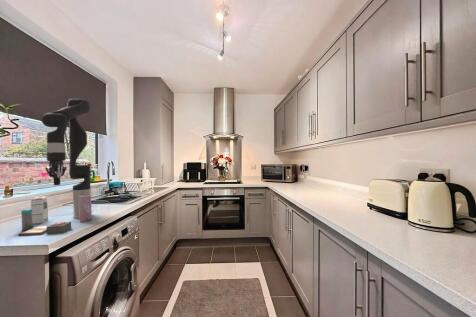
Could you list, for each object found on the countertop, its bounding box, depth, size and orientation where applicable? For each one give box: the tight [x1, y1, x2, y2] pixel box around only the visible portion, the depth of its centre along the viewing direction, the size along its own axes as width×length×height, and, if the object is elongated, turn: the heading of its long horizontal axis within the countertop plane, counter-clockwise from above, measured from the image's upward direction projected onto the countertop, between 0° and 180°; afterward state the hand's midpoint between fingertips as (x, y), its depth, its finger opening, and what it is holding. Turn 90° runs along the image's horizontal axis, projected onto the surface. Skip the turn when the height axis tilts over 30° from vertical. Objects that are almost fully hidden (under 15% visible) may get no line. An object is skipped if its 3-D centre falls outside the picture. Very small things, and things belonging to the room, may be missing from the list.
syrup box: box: [30, 196, 49, 224], centre depth 129 cm, size 6×6×14 cm
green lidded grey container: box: [20, 208, 34, 232], centre depth 114 cm, size 4×4×10 cm
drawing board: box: [17, 225, 48, 237], centre depth 111 cm, size 12×10×1 cm
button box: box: [46, 221, 72, 235], centre depth 111 cm, size 7×7×4 cm
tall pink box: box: [78, 195, 93, 223], centre depth 129 cm, size 6×6×15 cm
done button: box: [53, 221, 65, 226], centre depth 111 cm, size 4×4×2 cm
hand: (57, 185), depth 114 cm, fingers closed
